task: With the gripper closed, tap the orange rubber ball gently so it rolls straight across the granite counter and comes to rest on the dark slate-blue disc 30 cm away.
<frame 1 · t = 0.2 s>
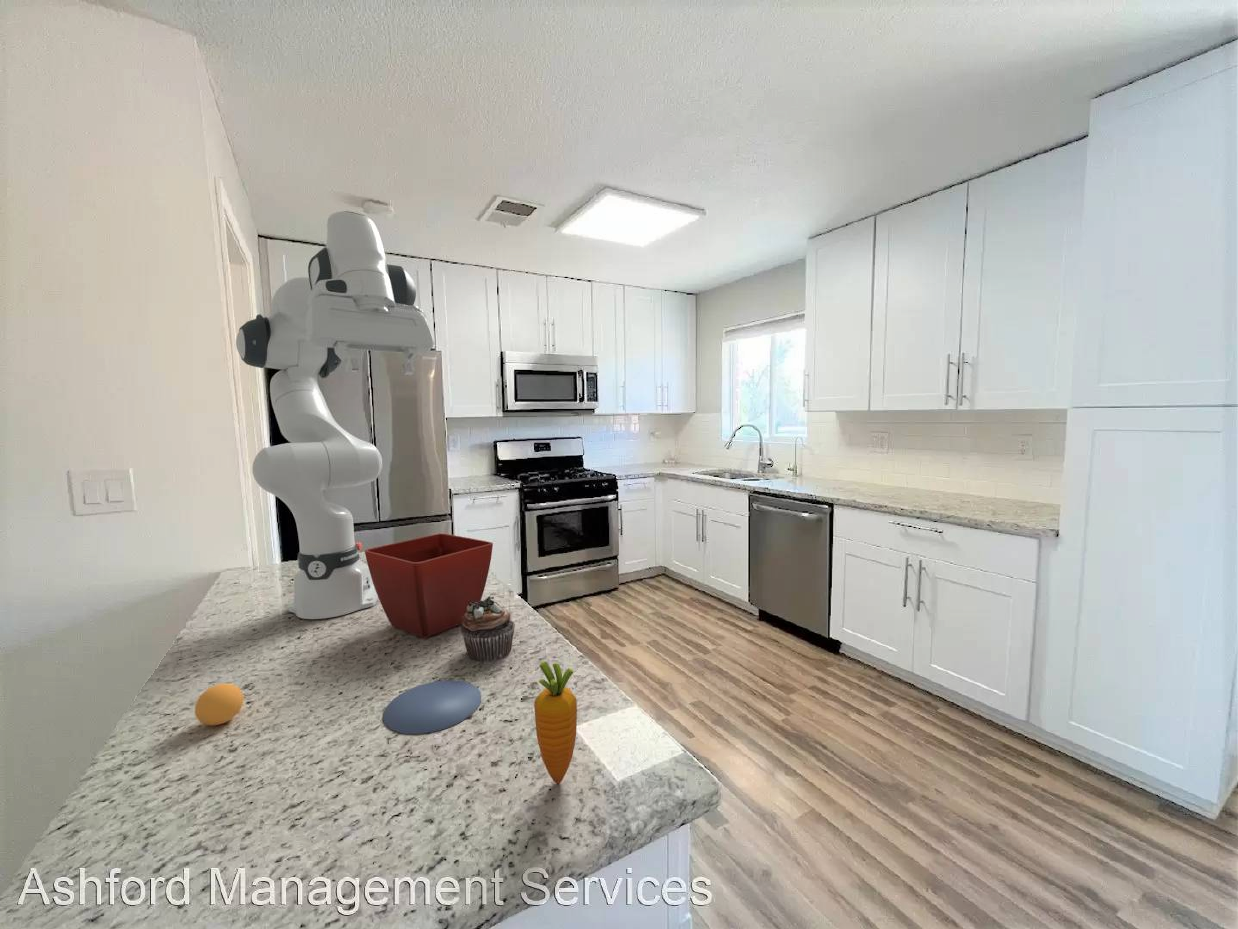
hand: (381, 372, 86), 52 cm above the countertop, tool tilted 20°, fingers open, 8 cm apart
ball: (219, 704, 73), on the countertop
carrot: (558, 784, 60), on the countertop
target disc: (433, 705, 76), on the countertop
plant pot: (434, 623, 108), on the countertop
cupcake: (489, 652, 94), on the countertop
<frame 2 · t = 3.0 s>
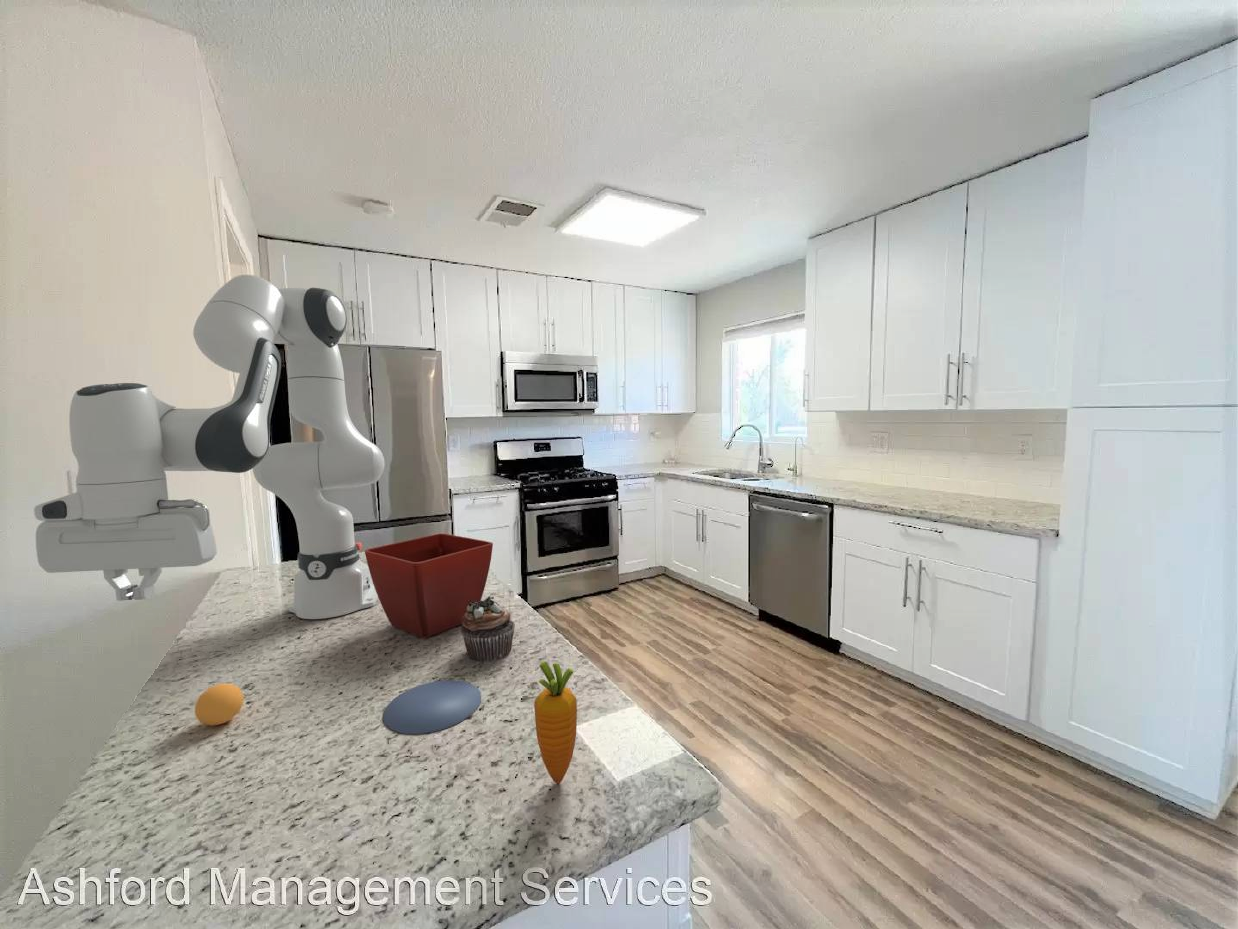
hand: (136, 598, 70), 19 cm above the countertop, tool pointing down, fingers closed
nothing on the countertop moved.
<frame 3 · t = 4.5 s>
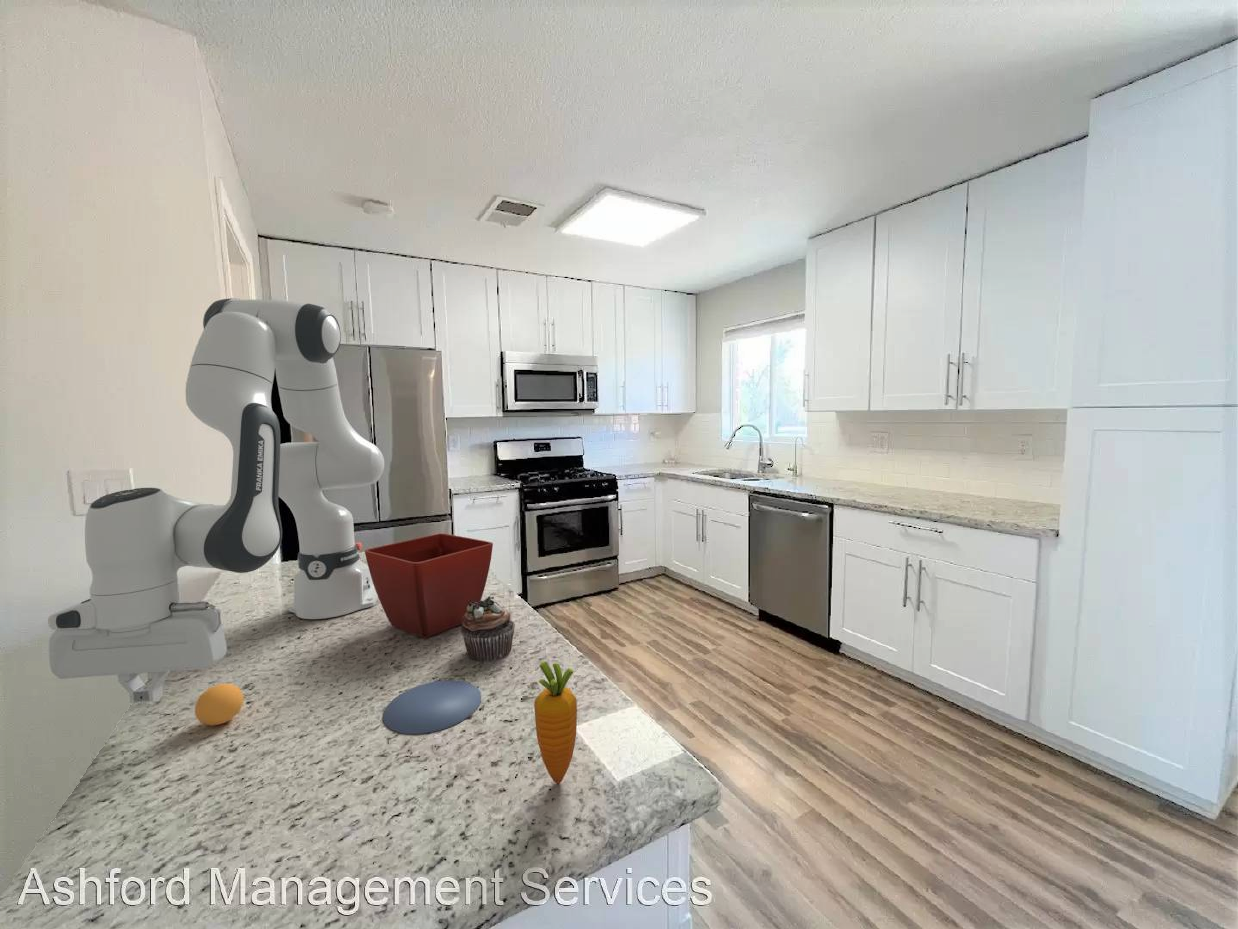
hand: (146, 700, 71), 4 cm above the countertop, tool pointing down, fingers closed
nothing on the countertop moved.
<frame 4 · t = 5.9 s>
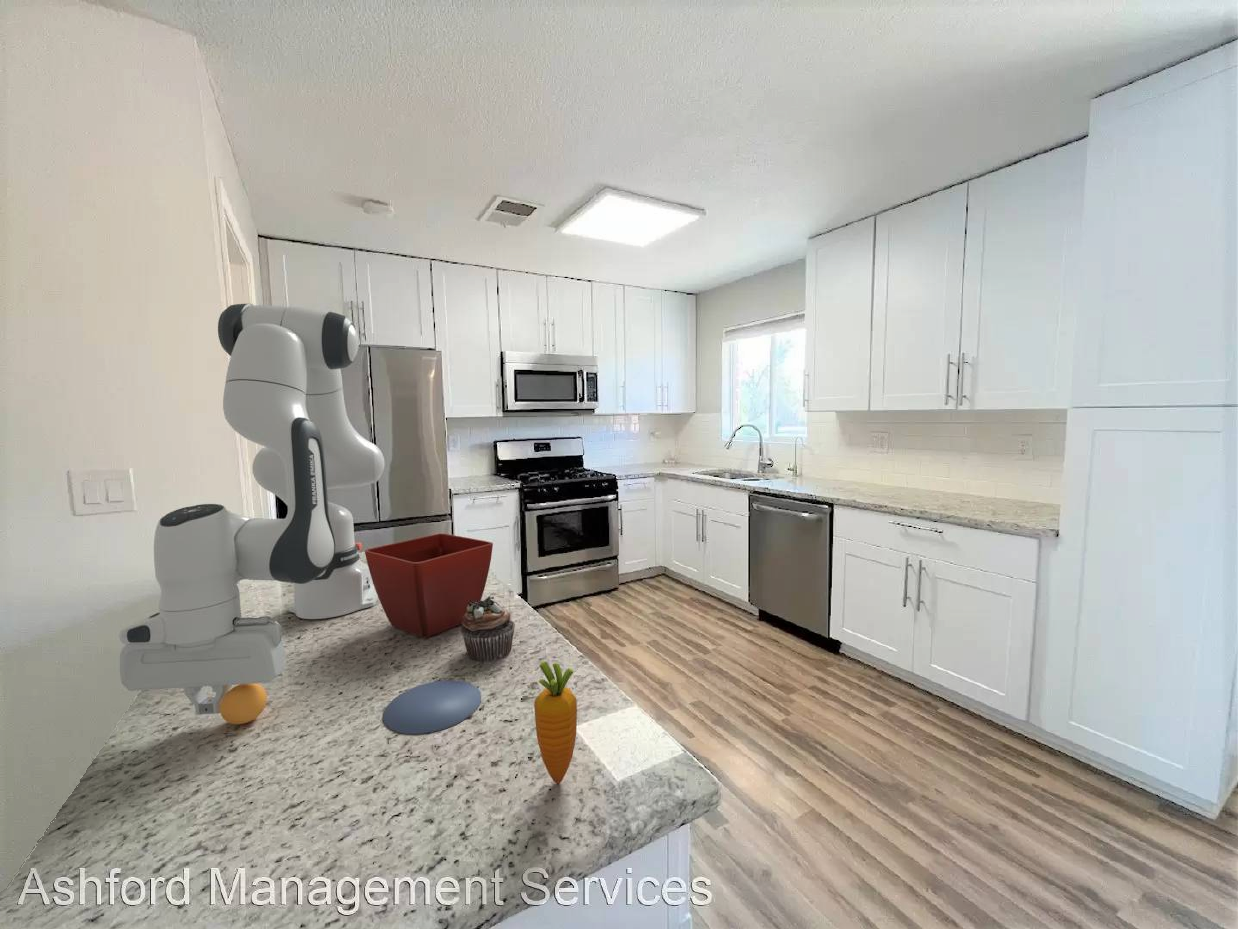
hand: (211, 712, 73), 2 cm above the countertop, tool pointing down, fingers closed
ball: (244, 703, 73), on the countertop
everything else where it was.
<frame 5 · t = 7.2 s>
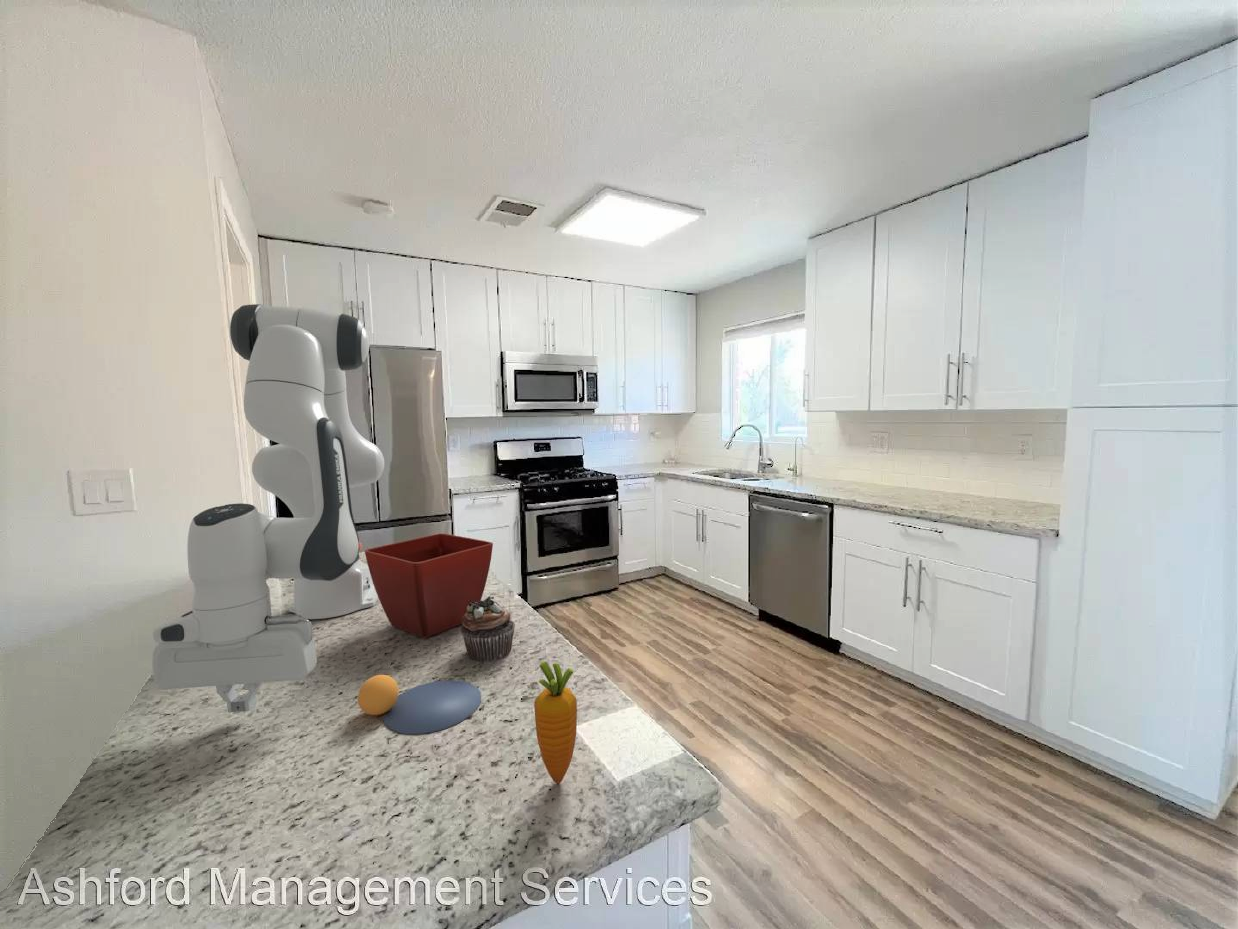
hand: (242, 710, 73), 2 cm above the countertop, tool pointing down, fingers closed
ball: (378, 694, 75), on the countertop
everything else where it was.
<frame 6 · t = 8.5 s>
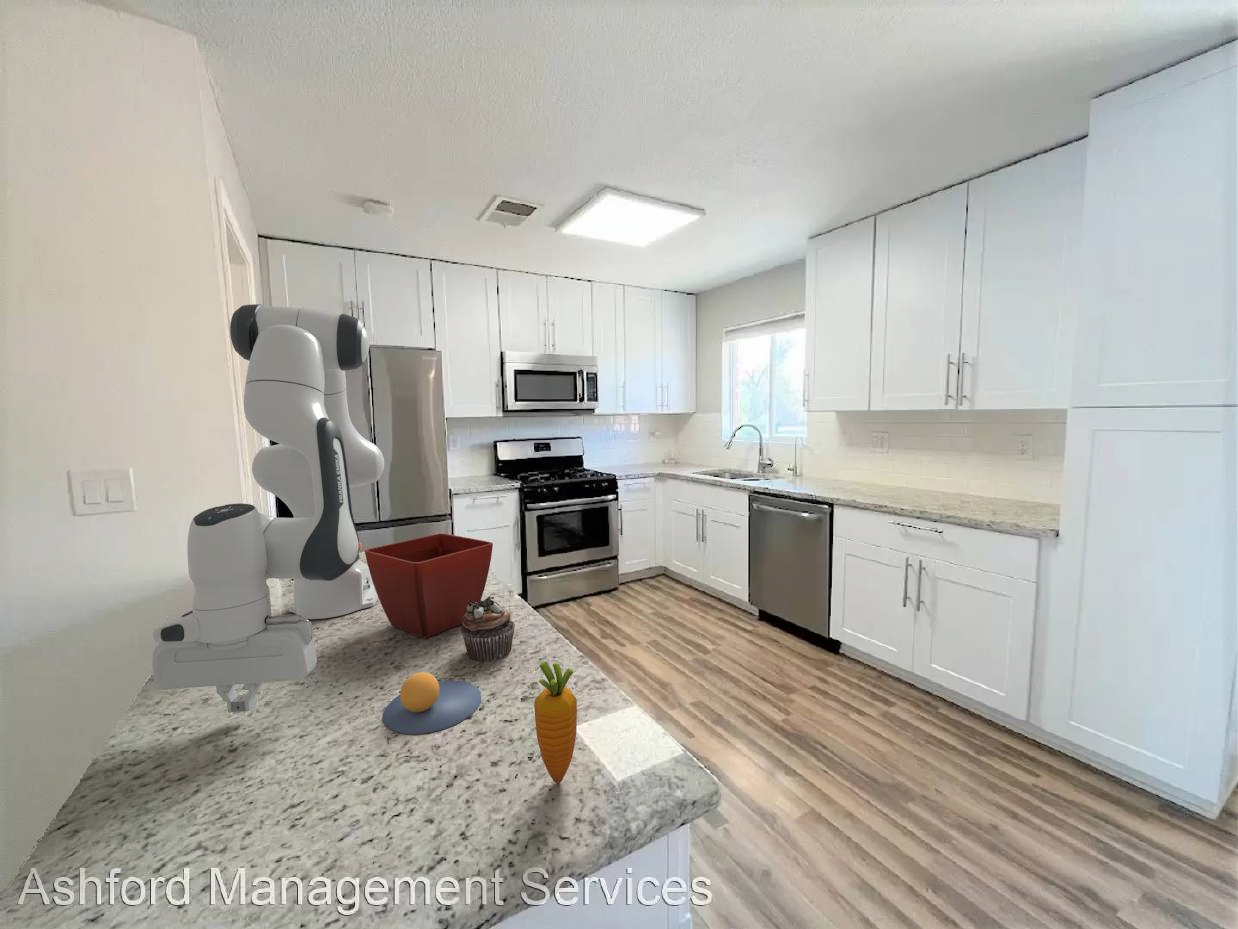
hand: (242, 710, 73), 2 cm above the countertop, tool pointing down, fingers closed
ball: (420, 692, 75), on the countertop
everything else where it was.
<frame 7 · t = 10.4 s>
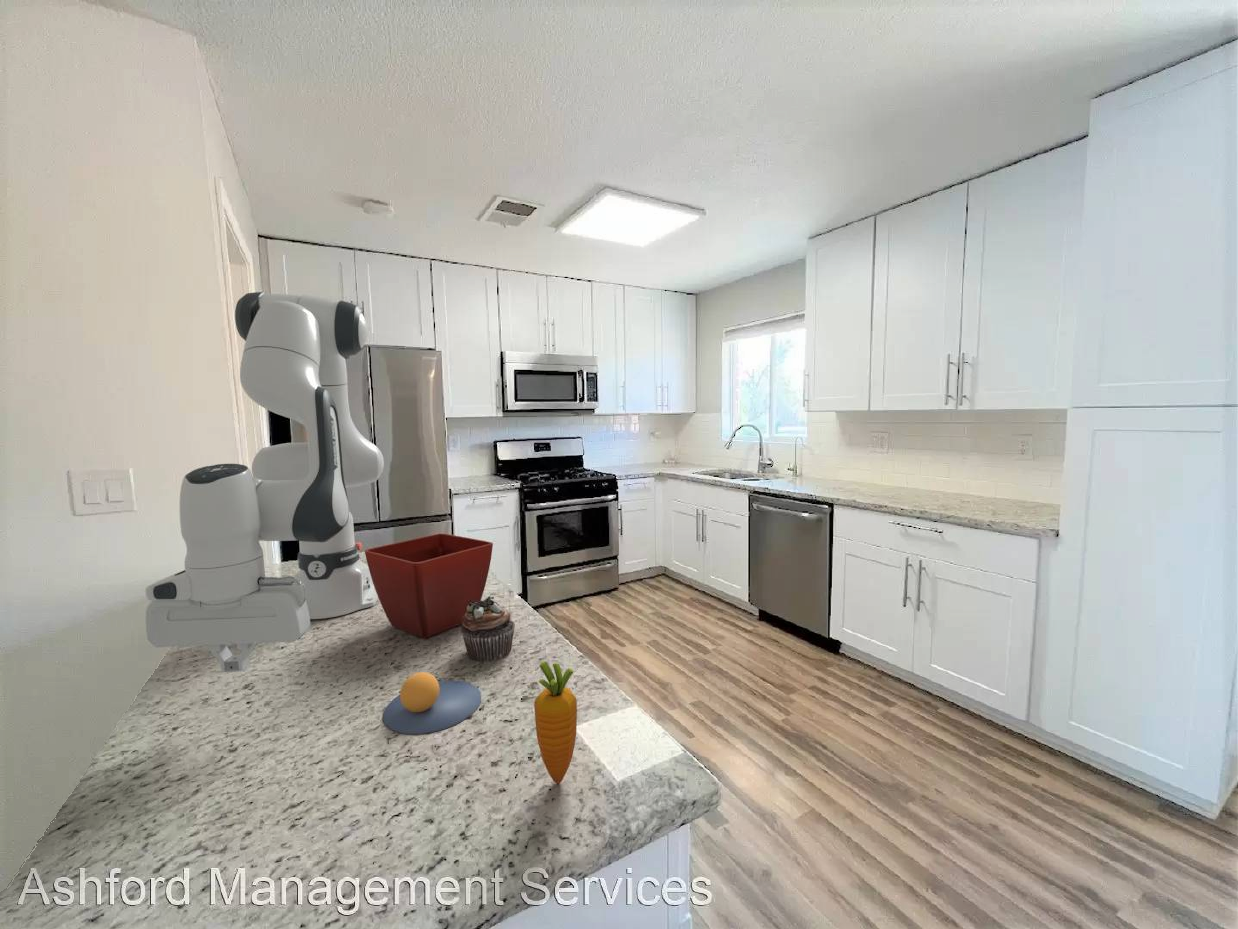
hand: (235, 670, 73), 7 cm above the countertop, tool pointing down, fingers closed
nothing on the countertop moved.
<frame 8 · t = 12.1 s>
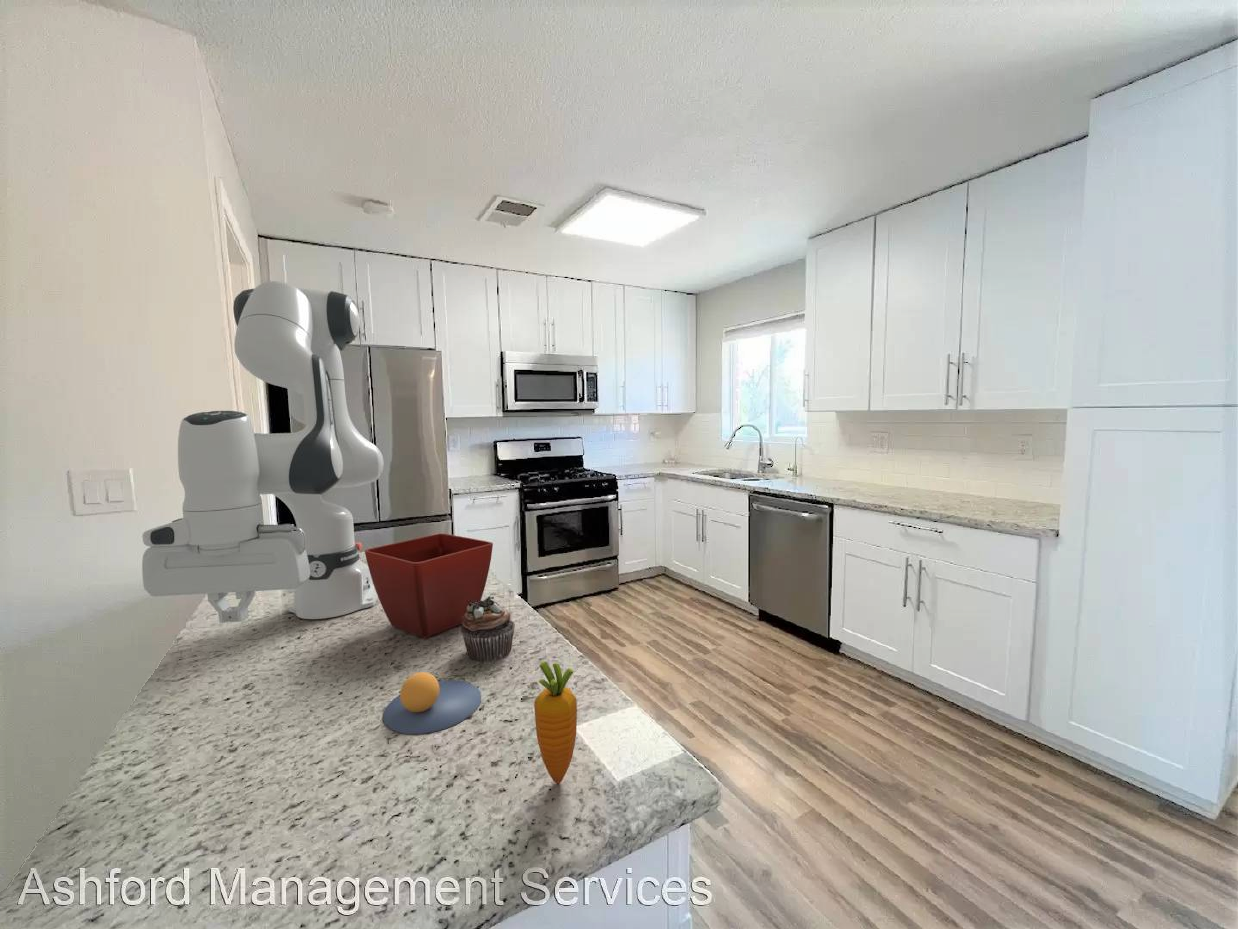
hand: (234, 620, 72), 15 cm above the countertop, tool pointing down, fingers closed
nothing on the countertop moved.
at the end: ball 1.9 cm from the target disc (horizontally); ball at rest at the end (0.0 cm/s); ball moved 28.4 cm from its start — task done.
